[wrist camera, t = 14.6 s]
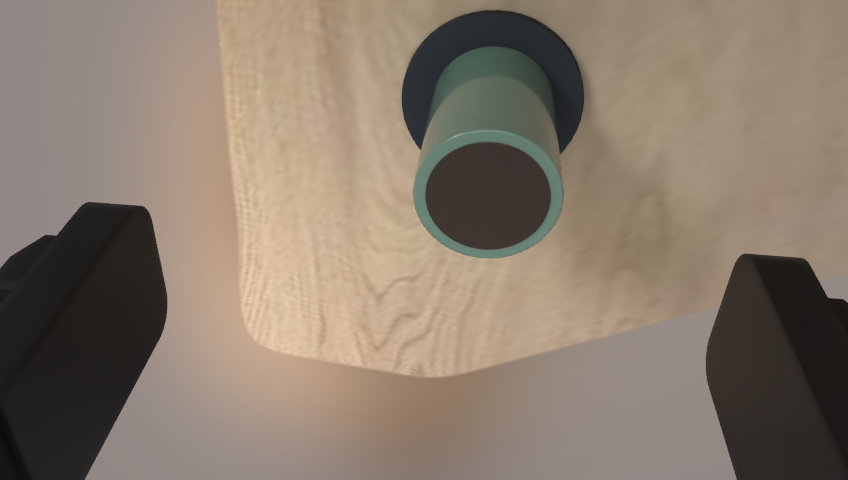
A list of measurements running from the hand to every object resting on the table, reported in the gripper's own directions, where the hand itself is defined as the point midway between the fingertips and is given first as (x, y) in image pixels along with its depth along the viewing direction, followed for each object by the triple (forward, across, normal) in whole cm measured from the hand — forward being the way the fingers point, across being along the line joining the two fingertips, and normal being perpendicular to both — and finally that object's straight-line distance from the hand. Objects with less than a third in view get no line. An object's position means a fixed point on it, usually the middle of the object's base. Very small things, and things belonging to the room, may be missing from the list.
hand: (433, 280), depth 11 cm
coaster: (+27, -1, +10) cm, 29 cm away
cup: (+27, -2, +10) cm, 28 cm away
